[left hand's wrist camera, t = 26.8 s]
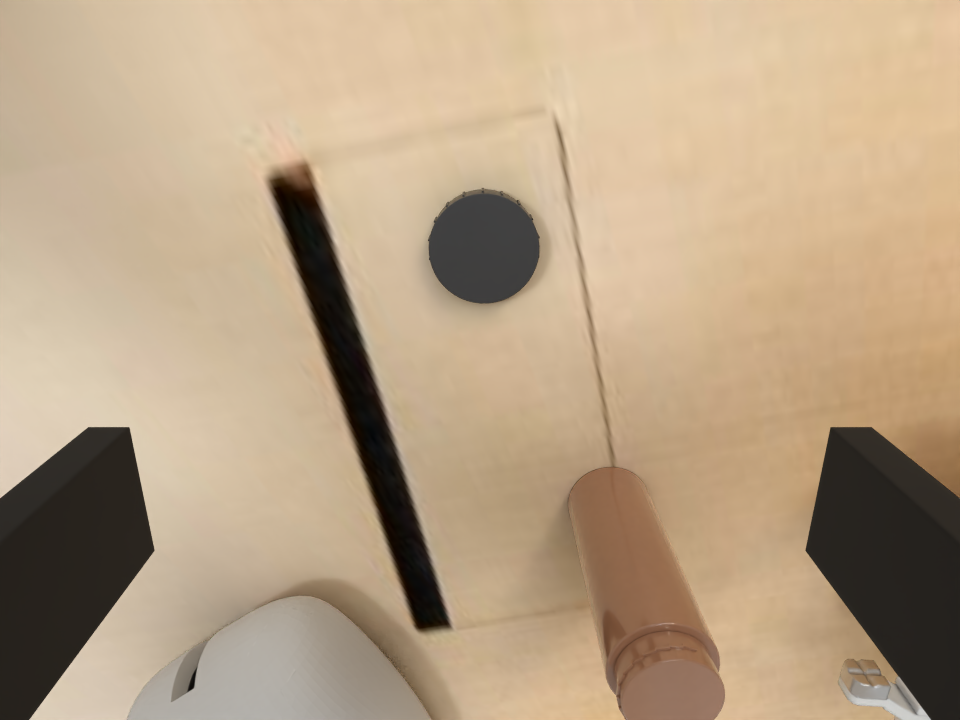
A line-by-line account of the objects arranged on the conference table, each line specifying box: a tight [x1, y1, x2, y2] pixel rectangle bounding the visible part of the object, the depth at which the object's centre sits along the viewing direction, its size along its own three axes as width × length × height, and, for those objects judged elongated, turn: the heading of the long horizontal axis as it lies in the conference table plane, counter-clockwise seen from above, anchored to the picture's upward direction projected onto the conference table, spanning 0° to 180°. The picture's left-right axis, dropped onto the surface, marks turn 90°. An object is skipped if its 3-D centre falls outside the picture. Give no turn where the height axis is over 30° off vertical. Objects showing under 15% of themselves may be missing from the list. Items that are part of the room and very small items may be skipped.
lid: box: [428, 188, 539, 303], centre depth 36 cm, size 6×6×2 cm
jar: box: [568, 467, 725, 720], centre depth 36 cm, size 5×5×16 cm
